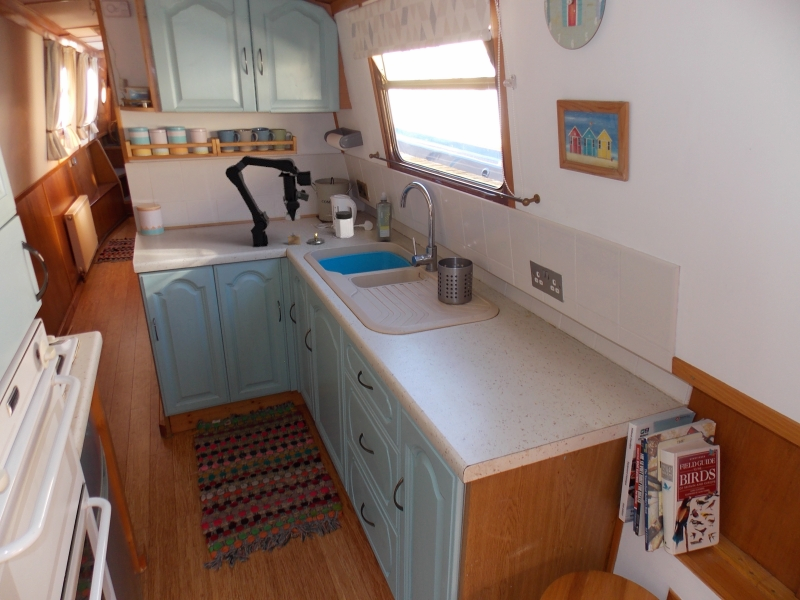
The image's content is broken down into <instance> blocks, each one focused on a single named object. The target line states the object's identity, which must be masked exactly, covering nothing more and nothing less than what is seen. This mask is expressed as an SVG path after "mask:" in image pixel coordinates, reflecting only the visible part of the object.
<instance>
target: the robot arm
mask: <svg viewBox="0 0 800 600" xmlns="http://www.w3.org/2000/svg"><path fill="white" fill-rule="evenodd" d="M248 166H253V167H262V168H270V169H272V168H273V169H274V170H278V171H280V174H278V175H277V177H278V178H282V182H283V183H282V185H283V196H282V201H283V204H284V206H285V209H286V212H288V213H289V215H290V217H291V220H290V221H292V222H295V221H296V219H295V214H296V211H298V209H299V208H301V203H300V202H299V200H301V201H304V202H306V203H307V202H309V198H310V194H309V193H308V192H306V189H301V190H298V188H297V185H299V187H312V186H313V177H312V170H306V171H305V170H303V171H300V169H299V168H298V167H297V166H296V162H295V160H294V159H293V158H290V157H283V158H282V157H281V158H276V159H275V158H269V157H268V158H267V157H259V156H253V155H252V156H251V155H247V154H246V155H245V156H243V157H242V158H241V159H240V160H239V161H238V162H237V163H235V164H233V165H232V164H231V165H230V166H228V167H227V168H226V169H225V173H224V174H225V176H226V178H227V179H228V180H229V182H230V183H232V184H233V185H234V186H235V187H236V189H237V191H238V192H239V194H240V196H241V198H242V200H243V201H244V203H245V205H246V207H247V208H248V210H249V212H250V213H251V218H252V221H253V224H254V225H253V227H252V228H251V229H250V233H251V235H252V236H251V237H252V247H254V248H255V247H256V248H257V247H266V246H268V245H269V241H268V240H269V239H268V234H267V231H266V229H267V228H268V227H269V225H270V217H269V216H268V214H267V212H266V210H264V211H263V210H261V209H260V207H259V206H258V204H257V202H256V201H255V199H254V196H253V195H252V194H251V191H250V189H249V188H248V186H247V185H246V182H245V179H244V174H243V172H242V171H243V170H244V169H245V168H246V167H248Z"/></svg>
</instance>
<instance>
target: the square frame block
mask: <svg viewBox="0 0 800 600" xmlns="http://www.w3.org/2000/svg"><path fill="white" fill-rule="evenodd" d="M284 219H285V220H286V221H292V220H291V217H290V215H289V213H288V211H285V212H284ZM295 220H301V213H300V211H299V210H296V214H295Z"/></svg>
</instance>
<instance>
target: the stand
mask: <svg viewBox="0 0 800 600" xmlns="http://www.w3.org/2000/svg"><path fill="white" fill-rule="evenodd" d="M291 234H292V235H287V242H288V243H287V244H288V246H295V245H301V235H300V234H296V233H295V232H292V233H291Z"/></svg>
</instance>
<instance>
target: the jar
mask: <svg viewBox="0 0 800 600" xmlns="http://www.w3.org/2000/svg"><path fill="white" fill-rule="evenodd" d="M334 222H335V223H334V226H335V237H337V238H339V239H347V238H348V239H349V238H352V237H353V236H354V217H353V212H352V211H349V210H341V211H340V210H339V211H336V212H335V218H334Z"/></svg>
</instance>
